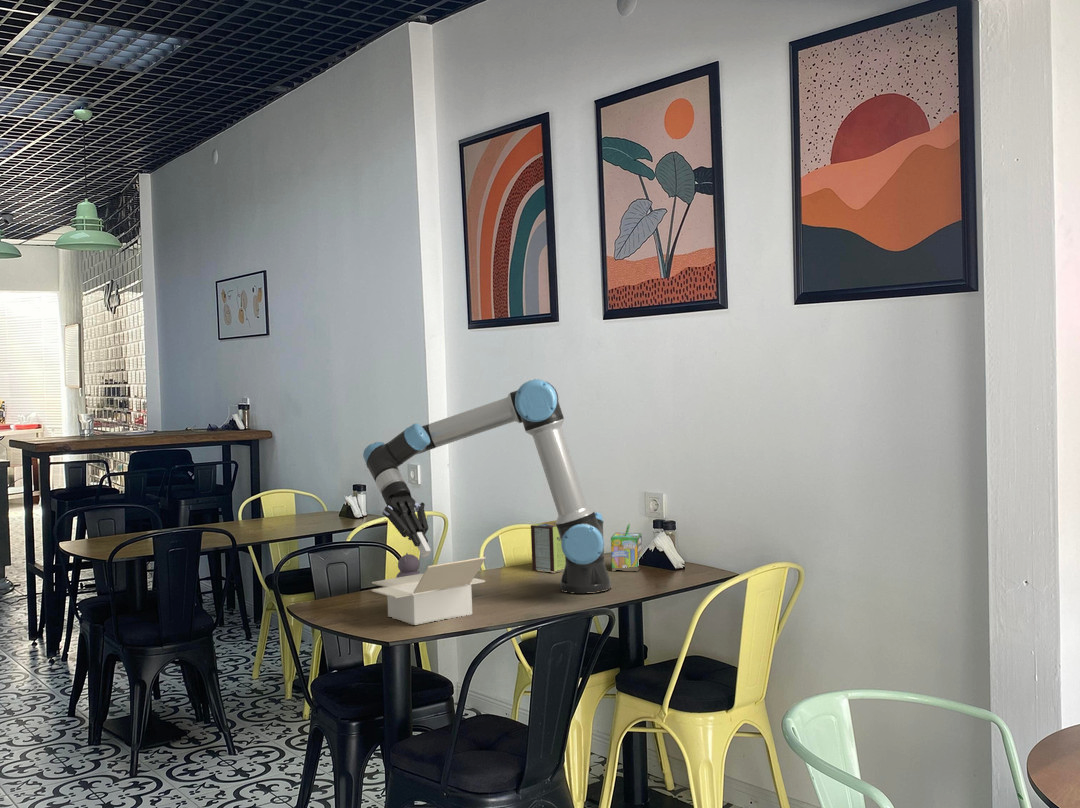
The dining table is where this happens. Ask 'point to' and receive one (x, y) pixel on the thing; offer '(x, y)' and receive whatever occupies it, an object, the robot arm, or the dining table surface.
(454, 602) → the carton
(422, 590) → the flap
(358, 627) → the dining table surface
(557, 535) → the protein box
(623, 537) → the chalk box
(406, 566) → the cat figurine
